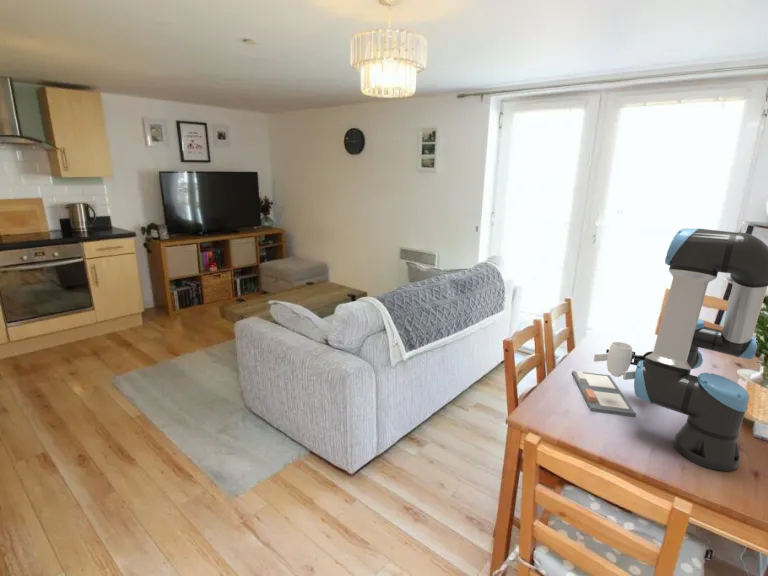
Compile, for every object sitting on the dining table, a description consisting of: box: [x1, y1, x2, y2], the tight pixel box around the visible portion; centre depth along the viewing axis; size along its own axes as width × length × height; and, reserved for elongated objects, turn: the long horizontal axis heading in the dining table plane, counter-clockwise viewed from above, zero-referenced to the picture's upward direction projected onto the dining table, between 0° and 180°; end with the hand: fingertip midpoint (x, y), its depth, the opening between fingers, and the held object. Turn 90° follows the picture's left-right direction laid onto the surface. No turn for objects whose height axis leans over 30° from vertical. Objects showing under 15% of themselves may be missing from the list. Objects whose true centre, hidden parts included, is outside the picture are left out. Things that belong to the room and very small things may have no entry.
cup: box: [606, 341, 633, 378], centre depth 142 cm, size 7×7×21 cm
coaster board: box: [571, 370, 637, 418], centre depth 151 cm, size 28×14×3 cm, turn 168°
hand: (608, 366), depth 140 cm, fingers open, 13 cm apart
